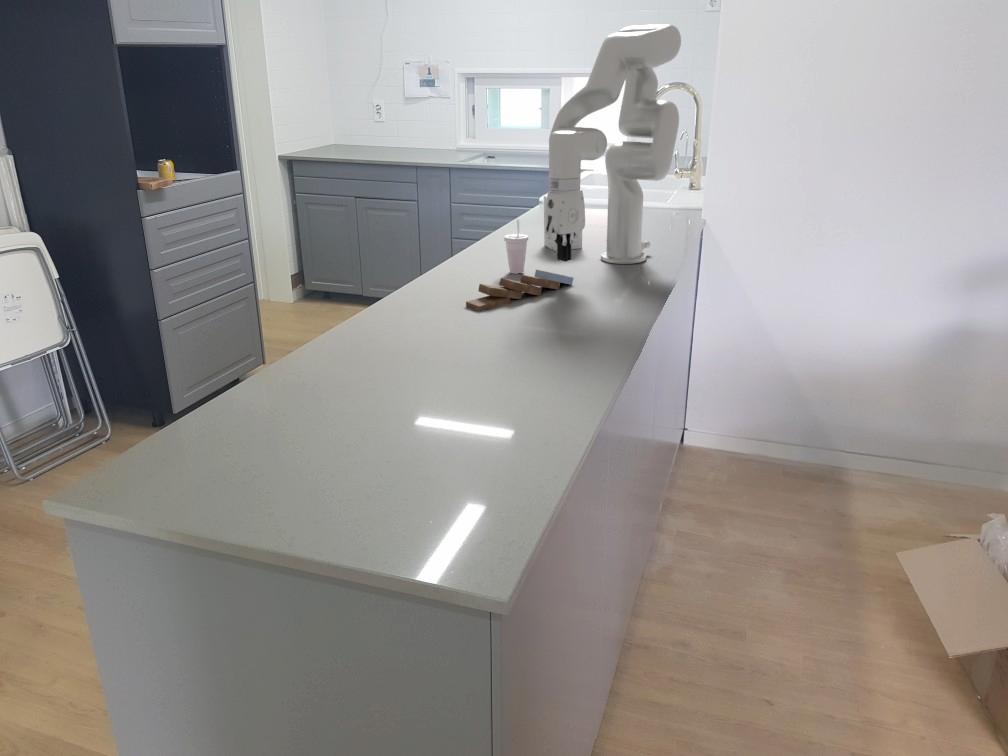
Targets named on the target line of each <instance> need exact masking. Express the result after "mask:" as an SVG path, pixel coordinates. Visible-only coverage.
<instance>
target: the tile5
mask: <svg viewBox="0 0 1008 756" xmlns="http://www.w3.org/2000/svg"><path fill="white" fill-rule="evenodd" d="M509 304H511V298H507V297H498V296H490V295H486V296H482V297H479V298H474V299H471V300H470V299H469V300H467V301H465V307H466V308H468V309H471V310H474V311H476V310H477V311H476V312H479V311H480V312H484V311H487V310H491V309H494V308H498V306H499V307H502V306H505V305H509Z"/></svg>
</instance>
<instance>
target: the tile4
mask: <svg viewBox="0 0 1008 756" xmlns="http://www.w3.org/2000/svg"><path fill="white" fill-rule="evenodd" d="M477 290H478V292H480V293H482V294H485V295H486V296H498V297H507V298H510V299H516V300H522V298H523V292H521V291H517V290H512V289H509V288H506V287H503V286H501V285H493V284H485V283H479V286H478V289H477Z"/></svg>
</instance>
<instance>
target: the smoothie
mask: <svg viewBox="0 0 1008 756" xmlns="http://www.w3.org/2000/svg"><path fill="white" fill-rule="evenodd" d="M503 237H504V239H503V240H504V242H505V246H506V247H505V248H506V253H507V254H506V257H507V261H508V269H509V273H510V274H511V273H513V274H512V275H519V274H518V273H522V272H524V273H525V264H526V262H525V261H526V255H527V246H528V245H527V244H528V241H529V235H527V234H525V233H520V219H516V233H511V234H506V235H504V236H503ZM514 273H515V274H514ZM522 274H523V273H522Z"/></svg>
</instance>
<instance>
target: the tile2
mask: <svg viewBox="0 0 1008 756" xmlns="http://www.w3.org/2000/svg"><path fill="white" fill-rule="evenodd" d="M519 282H522V283H526V284H530V285H533V286H536V287H539V288H548V289H555V290H558V289H560V285H561V282H556V281H551V280H547V279H542V278H538V277H534V276H531V275H524V274H521V275H520V279H519Z"/></svg>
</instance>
